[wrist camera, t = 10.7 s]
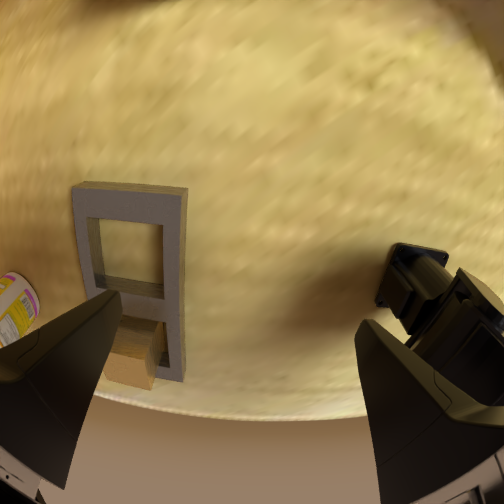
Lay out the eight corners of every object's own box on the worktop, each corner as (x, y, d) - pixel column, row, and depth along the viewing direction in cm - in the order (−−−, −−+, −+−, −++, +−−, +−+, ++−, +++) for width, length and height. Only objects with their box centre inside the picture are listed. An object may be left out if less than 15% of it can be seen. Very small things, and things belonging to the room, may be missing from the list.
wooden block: (161, 313, 25) (144, 360, 19) (164, 345, 27) (150, 390, 22) (119, 305, 25) (95, 348, 19) (125, 337, 27) (107, 379, 21)
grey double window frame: (188, 188, 19) (181, 195, 18) (185, 368, 28) (183, 382, 27) (84, 181, 19) (71, 187, 17) (112, 353, 28) (107, 365, 26)
